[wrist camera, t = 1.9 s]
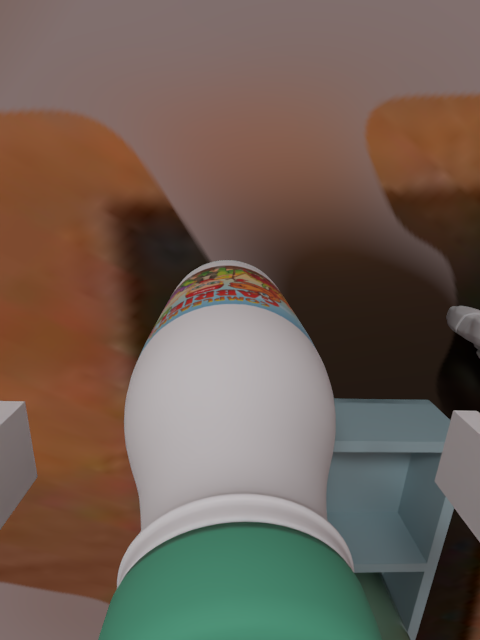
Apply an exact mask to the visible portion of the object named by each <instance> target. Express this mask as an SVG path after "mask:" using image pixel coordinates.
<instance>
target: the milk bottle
mask: <svg viewBox="0 0 480 640" xmlns="http://www.w3.org/2000/svg"><path fill="white" fill-rule="evenodd" d="M124 431H125V442H126V449H127V453H128V457H129V461H130V466H131V469H132V472H133V476H134V479H135V482H136V486H137V489H138V494H139V501H140V512H141V532H140V533H139V534H138V535H137V537H136V538H135V539H134V540H133V542H132V543H131V544H130V546H129V548H128V549H127V551H126V553H125V554H124V557H123V559H122V561H121V564H120V567H119V571H118V577H117V590H116V592H115V593H114V595H113V598H112V600H111V602H110V605H109V608H108V611H107V614H106V617H105V620H104V623H103V626H102V630H101V633H100V636H99V639H98V640H382V637H381V634H380V631H379V628H378V625H377V622H376V620H375V617H374V615H373V612H372V610H371V607H370V605H369V603H368V600H367V598H366V595H365V593H364V590H363V588H362V586H361V583H360V582H359V580H358V578H357V577H356V575H355V574H354V564H353V560H352V556H351V553H350V550H349V548H348V546H347V544H346V542H345V541H344V539H343V537H342V536H341V535H340V533H339V532H338V531H337V530H336V529H335V528H334V527H333V525H332V524H331V523H330V522H328V521H327V508H326V492H327V480H328V474H329V469H330V464H331V460H332V455H333V450H334V443H335V434H336V413H335V404H334V398H333V392H332V388H331V385H330V381H329V378H328V375H327V372H326V369H325V367H324V364H323V362H322V360H321V358H320V356H319V354H318V352H317V351H316V348H315V347H314V345H313V343H312V341H311V339H310V337H309V336H308V334H307V333H306V331H305V329H304V328H303V326H302V325H301V323H300V321H299V320H298V318H297V317H296V315H295V314H294V312H293V311H292V309H291V307H290V306H289V304H288V303H287V301H286V300H285V298H284V297H283V295H282V294H281V292H280V291H279V289H278V288H277V286H276V285H275V284H274V283H273V282H272V280H271V279H270V278H269V277H268V276H267V275H265V274H264V273H263V272H262V271H260V270H259V269H257V268H255V267H254V266H251V265H249V264H246V263H243V262H239V261H231V260H222V261H215V262H211V263H207V264H205V265H202V266H200V267H198V268H197V269H195V270H193V271H192V272H191V273H189V274H188V275H187V276H186V277H185V278H184V279H183V280H182V281H181V283H180V284H179V285H178V287H177V288H176V289H175V291H174V293H173V294H172V296H171V298H170V299H169V301H168V303H167V305H166V307H165V308H164V310H163V312H162V314H161V315H160V317H159V319H158V321H157V323H156V325H155V326H154V328H153V330H152V332H151V334H150V336H149V338H148V340H147V342H146V344H145V346H144V348H143V350H142V352H141V354H140V357H139V359H138V361H137V363H136V366H135V368H134V371H133V373H132V376H131V380H130V384H129V388H128V392H127V396H126V403H125V414H124Z"/></svg>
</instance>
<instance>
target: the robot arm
mask: <svg viewBox="0 0 480 640" xmlns="http://www.w3.org/2000/svg"><path fill="white" fill-rule="evenodd" d="M36 478H37V471H36V465H35V459H34V453H33V447H32V441H31V435H30V429H29V423H28V417H27V411H26V405H25V402H18V401H0V529H1V528H2V526H3V525H4V524H5V522H6V521H7V519H8V518H9V516H10V515H11V514H12V512H13V511H14V509H15V508H16V507H17V505H18V504H19V502H20V501H21V499H22V498H23V497H24V495H25V494H26V492H27V491H28V489H29V488H30V487H31V485H32V484H33V482H34V481H35V480H36ZM435 483H436V484H437V485H438V487H439V488H440V489H441V491H442V492H443V493H444V495H445V496H446V497H447V499H448V500H449V501H450V503H451V504H452V505H453V507H454V508H455V509H456V511H457V512H458V514H459V515H460V516H461V518H462V519H463V520H464V522H465V523H466V524H467V526H468V527H469V528H470V530H471V531H472V532H473V534H474V535H475V536H476V538H477V539H478V540H479V542H480V413H479V412H478V411H457V410H453V413H452V417H451V421H450V425H449V428H448V432H447V436H446V440H445V443H444V447H443V451H442V455H441V459H440V462H439V466H438V470H437V474H436V477H435Z"/></svg>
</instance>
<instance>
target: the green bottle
mask: <svg viewBox="0 0 480 640" xmlns="http://www.w3.org/2000/svg"><path fill="white" fill-rule="evenodd" d="M354 574H355V575H356V577H357V578H358V580H359V582H360V583H361V586H362V588H363V590H364V593H365V595H366V598H367V600H368V603H369V605H370V607H371V610H372V612H373V615H374V617H375V620H376V622H377V625H378V628H379V631H380V634H381V637H382V640H411V639H410V637H409V635H408V633H407V630H406V628H405V626H404V623H403V621H402V619H401V616H400V614H399V612H398V609H397V607H396V605H395V602H394V600H393V598H392V596H391V593H390V591H389V589H388V586H387V584H386V582H385V579H384V577H383V575H382V572H365V573H354Z"/></svg>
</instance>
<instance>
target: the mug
mask: <svg viewBox="0 0 480 640" xmlns="http://www.w3.org/2000/svg"><path fill="white" fill-rule="evenodd" d="M446 319H447V324H448V326H449V327H450V328H451V329H452V330H453V331H454V332H456V333H458V334H459V335H461V336H462V337H464V338H465V339H466V340H468V341H470V342H472V343H474V347H476V348H477V349H478V350H477V352H476V353H477V355H478V357H479V358H480V310H477V309H474V308H470V307H465V306H458V307H455V306H453V307H451V308H450V309H449V311H448V314H447V317H446Z"/></svg>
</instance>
